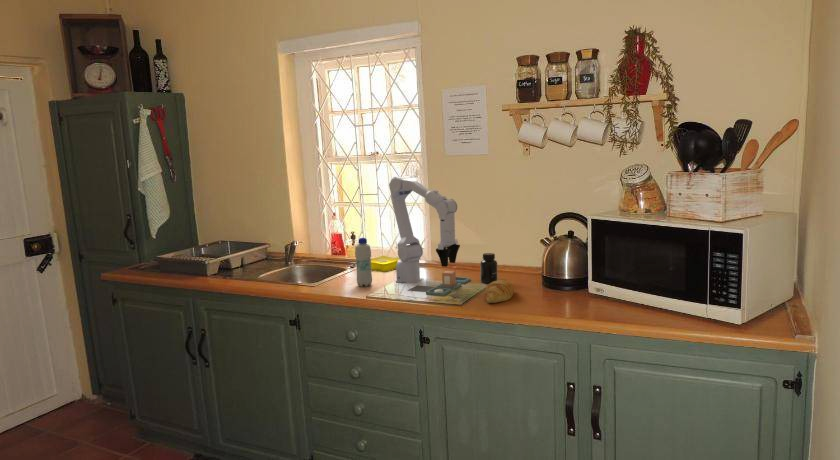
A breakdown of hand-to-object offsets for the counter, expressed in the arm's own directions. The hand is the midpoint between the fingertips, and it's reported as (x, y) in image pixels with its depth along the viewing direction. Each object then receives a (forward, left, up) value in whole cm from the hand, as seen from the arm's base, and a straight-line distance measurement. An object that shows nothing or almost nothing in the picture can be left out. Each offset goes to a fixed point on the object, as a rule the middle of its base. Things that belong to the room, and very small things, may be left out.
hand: (448, 264), depth 226 cm
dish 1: (0, -10, -9) cm, 14 cm away
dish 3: (0, +10, -9) cm, 14 cm away
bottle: (-35, -7, -10) cm, 37 cm away
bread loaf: (+23, -8, -10) cm, 27 cm away
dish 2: (0, 0, -9) cm, 9 cm away
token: (0, -10, -9) cm, 13 cm away
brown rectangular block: (0, 0, -9) cm, 9 cm away
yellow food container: (-46, +28, -10) cm, 55 cm away
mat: (-9, -6, -9) cm, 14 cm away
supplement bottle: (+12, +13, -10) cm, 20 cm away
